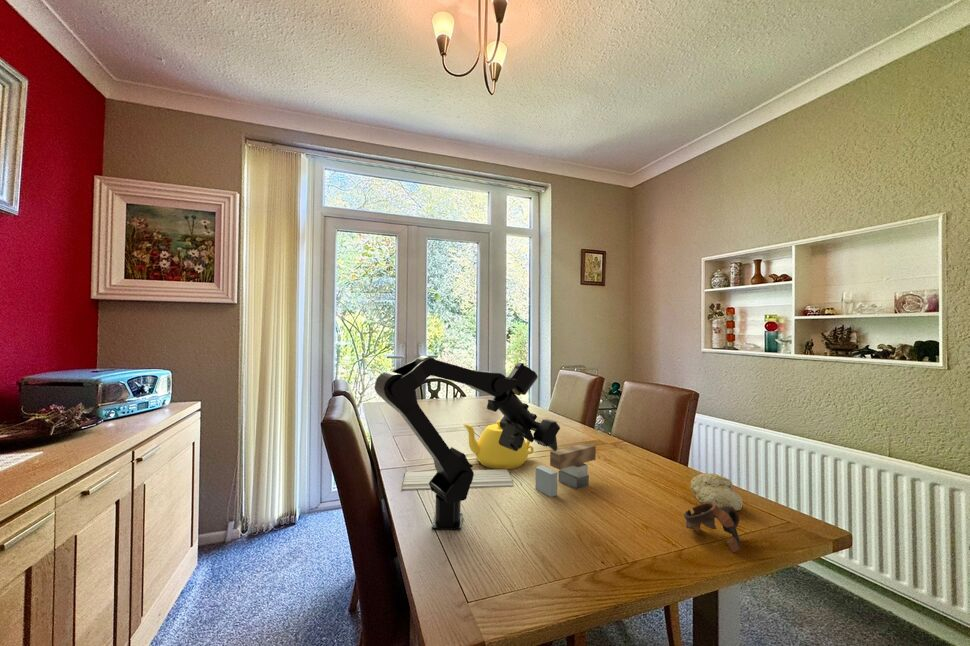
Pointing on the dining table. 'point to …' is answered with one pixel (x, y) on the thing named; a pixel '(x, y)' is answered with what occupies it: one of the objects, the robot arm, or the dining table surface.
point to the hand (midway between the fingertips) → (544, 445)
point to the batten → (572, 455)
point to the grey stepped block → (575, 476)
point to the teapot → (496, 449)
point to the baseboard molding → (479, 480)
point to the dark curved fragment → (708, 520)
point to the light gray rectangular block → (546, 481)
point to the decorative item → (715, 491)
